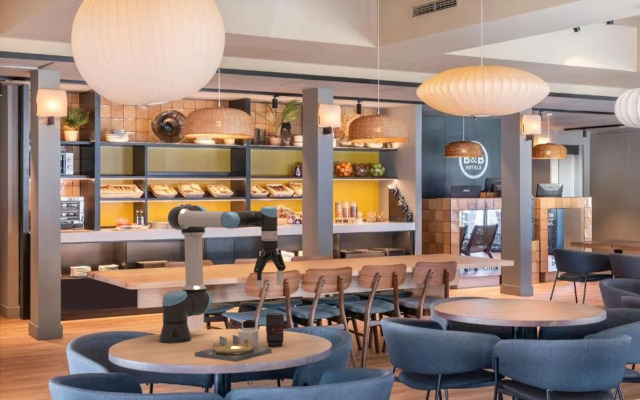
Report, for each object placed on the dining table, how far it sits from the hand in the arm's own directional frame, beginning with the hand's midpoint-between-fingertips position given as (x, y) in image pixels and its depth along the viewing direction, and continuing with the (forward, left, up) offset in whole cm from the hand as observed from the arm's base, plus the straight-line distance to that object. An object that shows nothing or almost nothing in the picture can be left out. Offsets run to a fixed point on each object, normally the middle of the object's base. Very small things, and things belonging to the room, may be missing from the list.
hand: (270, 286), depth 425 cm
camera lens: (+2, 0, -28) cm, 28 cm away
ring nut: (-1, -26, -26) cm, 37 cm away
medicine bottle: (-9, -6, -28) cm, 30 cm away
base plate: (-1, -26, -28) cm, 38 cm away
